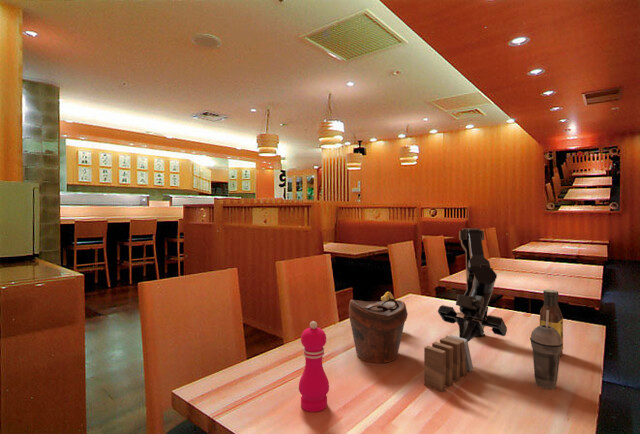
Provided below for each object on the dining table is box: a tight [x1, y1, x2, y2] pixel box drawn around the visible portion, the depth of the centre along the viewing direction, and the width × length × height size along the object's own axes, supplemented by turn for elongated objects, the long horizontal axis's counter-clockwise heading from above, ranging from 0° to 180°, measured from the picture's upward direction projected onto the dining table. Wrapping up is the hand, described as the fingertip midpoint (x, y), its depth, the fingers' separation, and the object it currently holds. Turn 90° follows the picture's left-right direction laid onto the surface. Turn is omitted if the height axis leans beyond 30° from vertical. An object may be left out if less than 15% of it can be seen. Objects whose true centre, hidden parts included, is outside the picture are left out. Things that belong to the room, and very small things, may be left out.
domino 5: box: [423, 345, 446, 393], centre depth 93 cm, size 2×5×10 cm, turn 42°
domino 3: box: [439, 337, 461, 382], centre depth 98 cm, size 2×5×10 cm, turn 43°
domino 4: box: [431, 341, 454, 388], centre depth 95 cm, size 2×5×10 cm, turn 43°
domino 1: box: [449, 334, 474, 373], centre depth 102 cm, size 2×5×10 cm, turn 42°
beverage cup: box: [529, 310, 564, 390], centre depth 93 cm, size 7×7×20 cm
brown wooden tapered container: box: [348, 298, 408, 364], centre depth 113 cm, size 18×20×18 cm
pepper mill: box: [298, 320, 330, 413], centre depth 85 cm, size 7×7×20 cm
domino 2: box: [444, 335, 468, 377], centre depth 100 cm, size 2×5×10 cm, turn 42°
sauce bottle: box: [539, 289, 564, 357], centre depth 113 cm, size 7×6×20 cm
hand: (461, 344), depth 102 cm, fingers closed
